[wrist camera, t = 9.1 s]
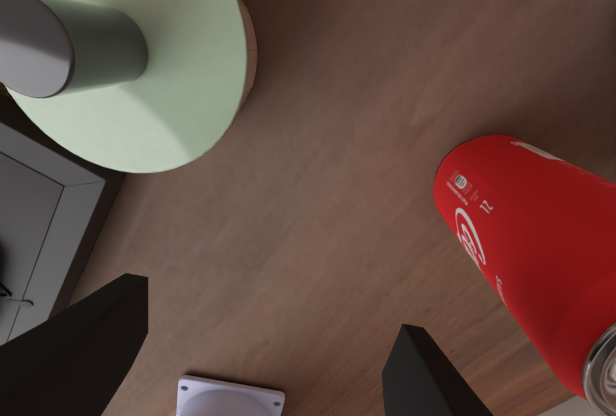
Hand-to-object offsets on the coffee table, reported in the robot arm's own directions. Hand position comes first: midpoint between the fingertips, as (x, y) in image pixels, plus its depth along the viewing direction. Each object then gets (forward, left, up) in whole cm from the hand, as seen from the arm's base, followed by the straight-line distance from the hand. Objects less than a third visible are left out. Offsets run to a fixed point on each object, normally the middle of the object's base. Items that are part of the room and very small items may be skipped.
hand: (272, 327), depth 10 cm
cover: (+6, +7, -6) cm, 11 cm away
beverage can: (+3, -9, -10) cm, 14 cm away
